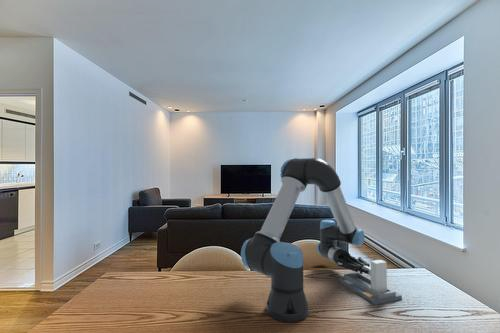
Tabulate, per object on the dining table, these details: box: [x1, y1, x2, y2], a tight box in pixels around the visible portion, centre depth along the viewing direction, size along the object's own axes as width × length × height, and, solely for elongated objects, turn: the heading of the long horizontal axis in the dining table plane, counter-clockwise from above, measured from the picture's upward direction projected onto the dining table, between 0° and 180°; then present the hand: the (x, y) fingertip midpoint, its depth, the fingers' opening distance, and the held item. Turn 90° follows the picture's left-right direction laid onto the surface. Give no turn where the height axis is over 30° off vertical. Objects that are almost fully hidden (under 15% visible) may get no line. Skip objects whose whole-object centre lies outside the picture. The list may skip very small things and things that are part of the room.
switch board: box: [338, 271, 403, 306], centre depth 115 cm, size 22×13×3 cm, turn 18°
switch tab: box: [370, 259, 388, 293], centre depth 109 cm, size 3×5×12 cm, turn 108°
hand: (375, 274), depth 111 cm, fingers closed
